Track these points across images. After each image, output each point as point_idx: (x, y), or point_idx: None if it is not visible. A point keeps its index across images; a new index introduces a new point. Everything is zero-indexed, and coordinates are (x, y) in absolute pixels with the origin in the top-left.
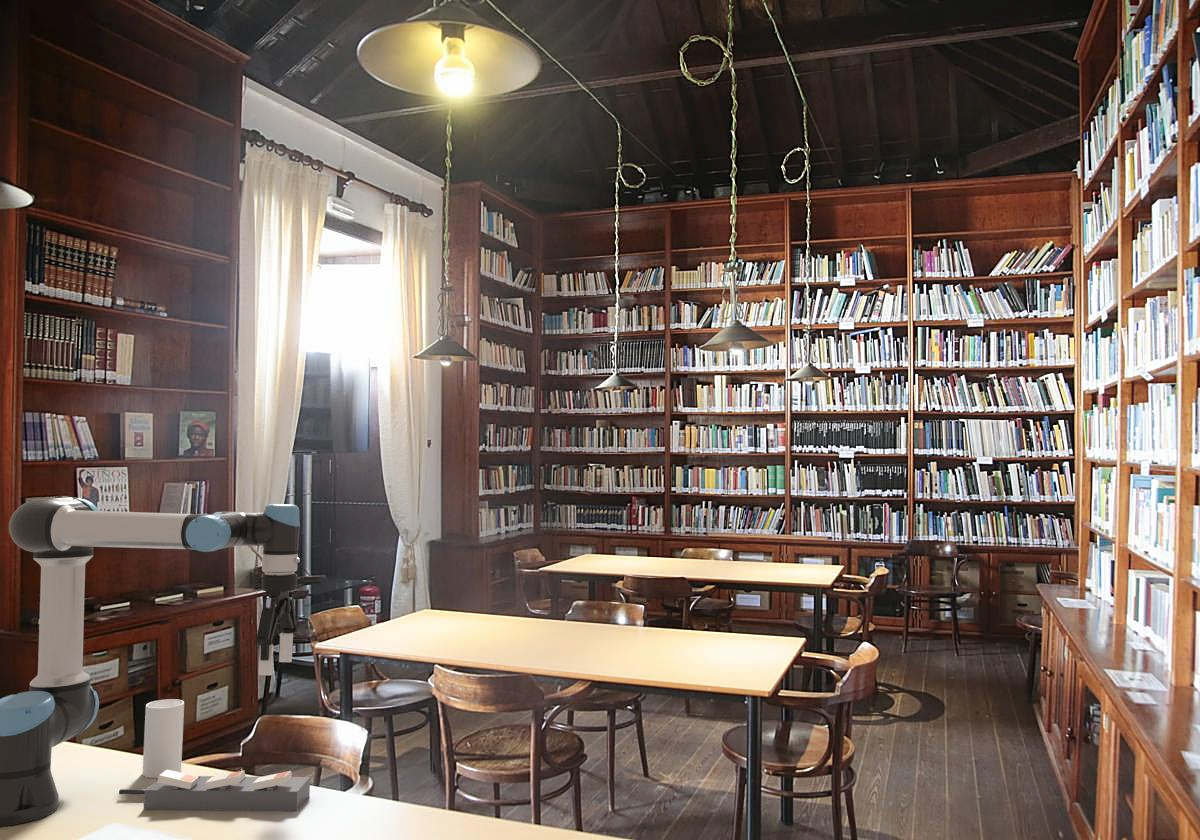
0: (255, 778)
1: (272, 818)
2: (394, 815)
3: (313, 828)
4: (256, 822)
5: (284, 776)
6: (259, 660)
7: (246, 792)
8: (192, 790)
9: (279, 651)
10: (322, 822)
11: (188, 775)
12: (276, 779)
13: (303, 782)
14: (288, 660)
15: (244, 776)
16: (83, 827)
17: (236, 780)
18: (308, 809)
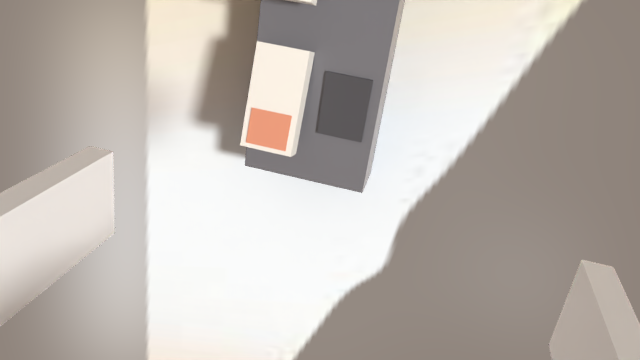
0: (376, 27)
1: (218, 94)
2: (222, 344)
3: (157, 191)
4: (194, 58)
5: (241, 141)
6: (8, 192)
7: (261, 19)
8: None
9: (600, 318)
10: (190, 208)
11: None
12: (245, 116)
13: (318, 177)
14: (557, 338)
15: (308, 3)
16: None
17: None
18: (271, 175)
